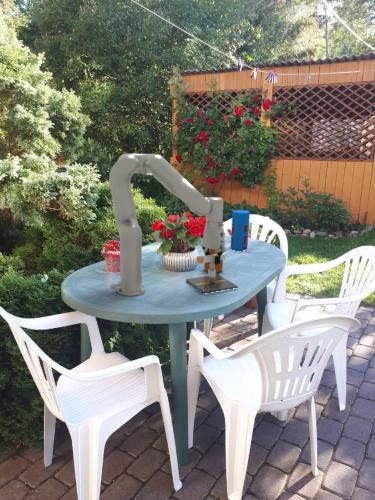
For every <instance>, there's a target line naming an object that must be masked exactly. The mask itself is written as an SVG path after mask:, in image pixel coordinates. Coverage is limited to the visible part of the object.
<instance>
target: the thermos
mask: <svg viewBox="0 0 375 500" xmlns="http://www.w3.org/2000/svg"><path fill="white" fill-rule="evenodd" d="M231 216H232V217H231V231H230V232H231V233H230V250H231V249H232V250H235V251H234V252H236V251H243V250H246V249H247V250H248V244H249V230H250V217H251V213H250V211H249V210H244V209H239V210H233V211H232V215H231ZM232 250H231V251H232Z"/></svg>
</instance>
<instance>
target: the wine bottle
mask: <svg viewBox="0 0 375 500" xmlns="http://www.w3.org/2000/svg"><path fill="white" fill-rule="evenodd" d="M221 250H222V249H221ZM209 252H210V255H213V254H216V252H215V250H213V249H210V251H209ZM218 253H219V251H218ZM223 263H224V260H220V264H217V265H215V269H216V274H219V273H220V272H222V271H223ZM203 264H204V266H203V267H204V271H205V272H206V273H208V269H210V262H207V263H203Z"/></svg>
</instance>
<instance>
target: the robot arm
mask: <svg viewBox="0 0 375 500" xmlns="http://www.w3.org/2000/svg"><path fill="white" fill-rule="evenodd" d="M113 164H114V165H113V166H112V168H111V170H110V172H109V178H108V179H109V187H110V193H111V197H112V210H113V215H114V219H115V224H116V227H117V232H118V234H119V235H118V236H119V265H120V266H119V269H120V280H118V283H116V284H115V283H113V284H110V285H109V288H110V290H113V289H114V290H115V291H116V290H117V293H118V294H119V295H121V296H129V297H132V296H138V295H139V296H140V295H143V294H144V293H145V292H146V286H144V285H143V272H142V271H143V255H142V251H143V250H142V248H143V247H142V246H143V232H142V227H141V226H140V225H139V222H138V217H137V213H136V211H137V207H136V204H135V199H134V196H133V191H132V185H131V179H132V176H133V175H134V174H150V175H151V176H153V178H155V179H156V180H157V181H158V182H159V183H160V184H161V185H162V186H163V187H164V188H165V189H166V190H167V191H168V192H170V193H171V194H172V195H174V196H175V197H177V198H178V199H180V200H181V201H182V202H183V203H184V204H185V205H187V207H188V209H189V210H190V212H192V213H194V214H196V215H197V216H199V217H205V226H204V228H203V235H202V241H201V242H200V245H199V246H200V248H202V251H203V253H204V256H206V255H210V252H209V251H210V249H213V250H215V252H216V256H215V265H217V264H220V258H221V255H222V254H223V253H224V254H225V253H226V252H227V247H226V246H225V245H226V238H225V237H226V236H225V229H224V228H223V227H224V225H225V224H224V223H223V216H224V215H223V214H224V198H222V197H221V196H219V197H218V196H210V197H205V195H202V193H201V192H200V191H199V190H198V189H197V188H195V187H194V186H193V185H192V184H191V183H190V182H189V181H188V180H187V179H186V178H185V177H184V176H183V175H182V174H181V173H180V172H179V171H177V169H176V168H175V167H174V166H173V165H171V163H170V162H168V161H167V160H166V158H165V157H164V156H162V155H160V154H157V153H123V154H122V155H120V156H119V157H118V159H117V161H116V162H115V163H113ZM221 249H222V250H221ZM218 251H219V253H218Z"/></svg>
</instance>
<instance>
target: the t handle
mask: <svg viewBox="0 0 375 500" xmlns="http://www.w3.org/2000/svg"><path fill="white" fill-rule="evenodd" d="M215 256H216V254H213V255H206V256H205V255H198V256H196V263H197V264H199V265H201V264H204V263H207V262H210V269H211V270H214V269H215ZM220 260H223V261H225V260H226V253H225V252H224V253H223V254H222V255H221V258H220Z"/></svg>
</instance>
